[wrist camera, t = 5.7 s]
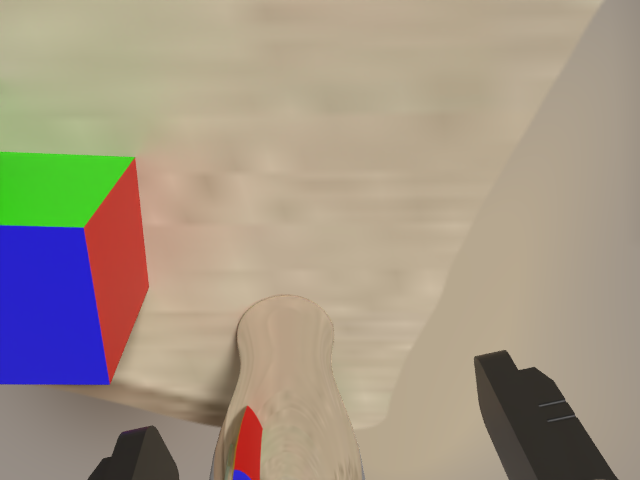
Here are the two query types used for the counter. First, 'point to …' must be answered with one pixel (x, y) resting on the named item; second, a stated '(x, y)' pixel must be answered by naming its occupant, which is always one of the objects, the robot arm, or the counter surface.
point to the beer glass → (286, 400)
